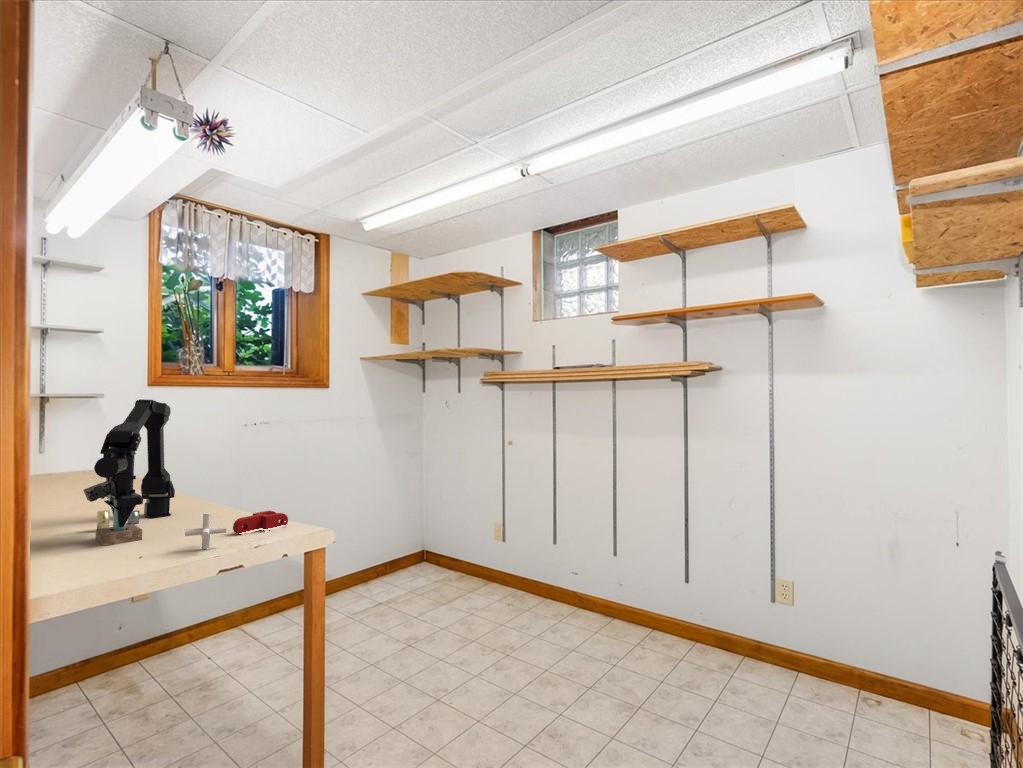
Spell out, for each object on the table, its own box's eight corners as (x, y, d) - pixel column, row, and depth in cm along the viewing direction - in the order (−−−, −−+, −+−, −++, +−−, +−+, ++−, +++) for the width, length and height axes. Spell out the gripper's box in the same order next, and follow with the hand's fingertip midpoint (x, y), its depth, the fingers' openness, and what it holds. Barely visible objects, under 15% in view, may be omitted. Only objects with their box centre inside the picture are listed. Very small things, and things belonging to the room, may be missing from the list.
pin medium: (107, 529, 166) (108, 509, 166) (110, 530, 164) (111, 511, 164) (95, 530, 164) (96, 511, 164) (98, 532, 162) (99, 512, 162)
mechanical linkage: (274, 524, 179) (274, 509, 179) (287, 527, 175) (288, 512, 175) (228, 534, 165) (228, 518, 165) (241, 538, 161) (242, 521, 162)
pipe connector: (183, 556, 142) (184, 518, 142) (186, 546, 151) (187, 510, 151) (225, 552, 147) (227, 515, 147) (226, 542, 155) (227, 508, 156)
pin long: (123, 532, 157) (125, 502, 158) (126, 534, 155) (128, 503, 156) (111, 534, 155) (112, 503, 155) (114, 536, 153) (115, 505, 153)
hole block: (132, 533, 162) (132, 524, 162) (142, 539, 156) (142, 529, 156) (95, 539, 155) (96, 529, 155) (104, 545, 149) (104, 535, 149)
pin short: (137, 522, 176) (137, 510, 176) (140, 523, 174) (140, 511, 174) (126, 523, 173) (126, 511, 173) (129, 525, 171) (129, 512, 172)
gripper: (79, 471, 155) (76, 524, 155) (96, 479, 143) (93, 537, 143) (124, 467, 164) (122, 518, 164) (144, 475, 152) (142, 530, 152)
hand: (119, 525), depth 155 cm, fingers closed on pin long, 3 cm apart
